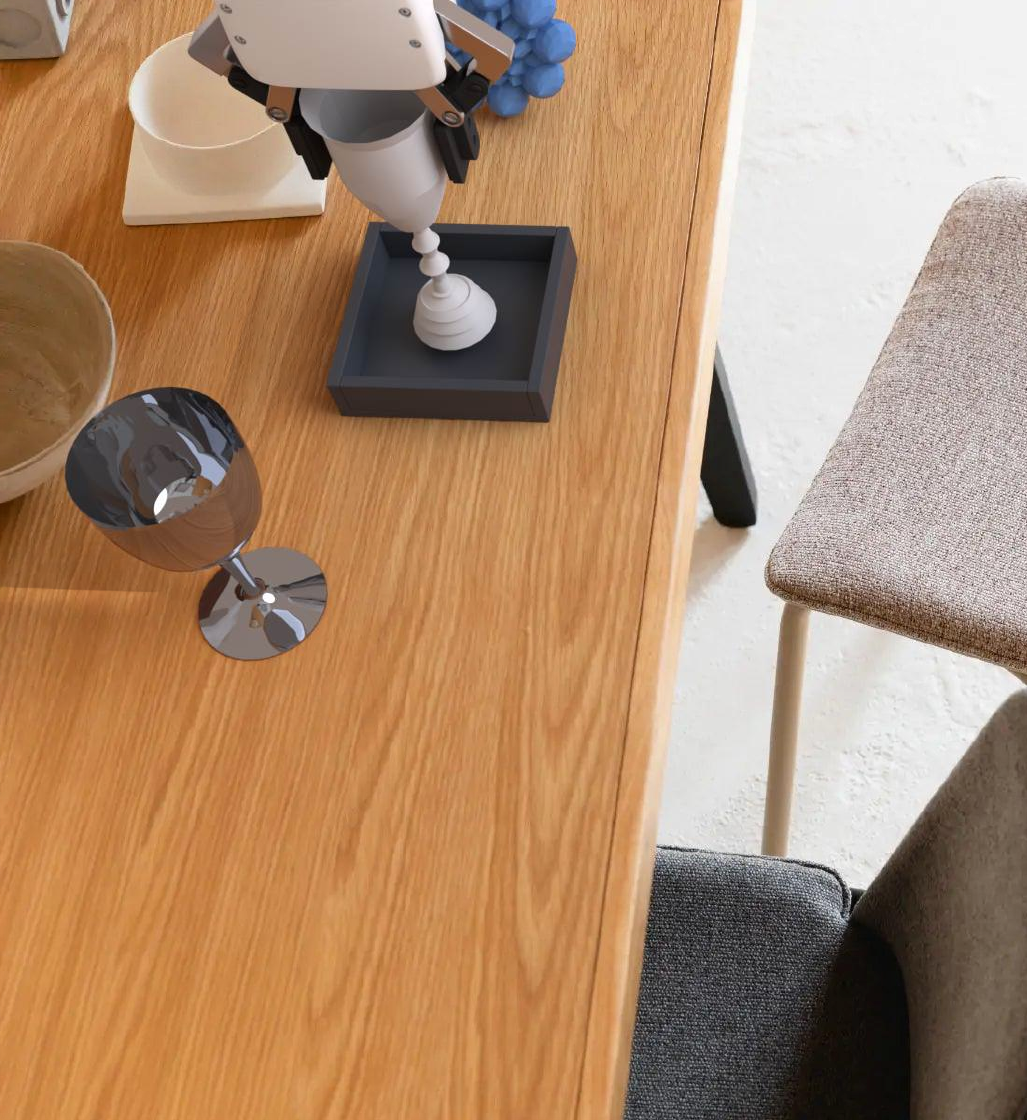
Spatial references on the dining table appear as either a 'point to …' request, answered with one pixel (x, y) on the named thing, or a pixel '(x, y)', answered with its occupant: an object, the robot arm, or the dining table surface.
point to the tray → (469, 373)
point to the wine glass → (194, 515)
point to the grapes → (523, 51)
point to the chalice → (401, 195)
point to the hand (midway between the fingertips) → (393, 160)
